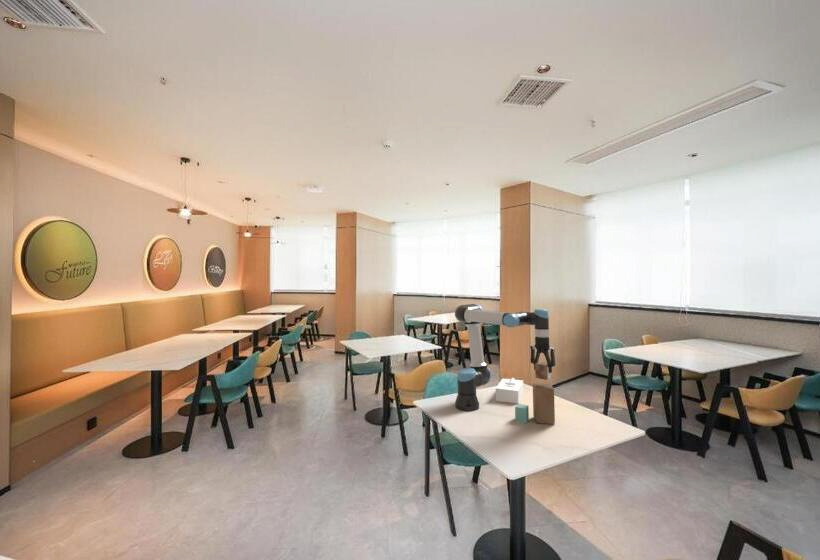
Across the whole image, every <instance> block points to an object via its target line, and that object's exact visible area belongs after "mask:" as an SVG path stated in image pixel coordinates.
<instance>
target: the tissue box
mask: <svg viewBox="0 0 820 560" xmlns="http://www.w3.org/2000/svg"><path fill="white" fill-rule="evenodd" d="M523 394H524V380H522V379H521V380H520V379H515V377H510V378H502V379H501V380H500V381H499V383H498V385H496V387H495V402H502V403H508V402H509V404H516V403H517V404H520V402H519V401H521V399H522V396H523ZM517 404H516V405H517Z"/></svg>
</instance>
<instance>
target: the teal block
mask: <svg viewBox="0 0 820 560" xmlns="http://www.w3.org/2000/svg"><path fill="white" fill-rule="evenodd" d="M514 411H515V412H514V413H515V414H514V415H515V416H514V417H515V418H514V419H515V422H517V423H518V422H519V423H523V424H527V423H528V421H529V419H530V415H529V413H530V412H529V411H530V410H529V405H527V404H522V403H519V404H515V406H514Z"/></svg>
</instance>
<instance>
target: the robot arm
mask: <svg viewBox="0 0 820 560" xmlns="http://www.w3.org/2000/svg"><path fill="white" fill-rule="evenodd" d="M533 311H534V312H531V311H516V312H515V313H513V312H504V311H503V312H500V311H494V310H492V311H490V310H484V309H483V307H482V306H481V305H480V304H477V303H469V304H461V305H458V306H457V307H456V309H455V310H454V317H455V318H456V320H457V321H458V322H460V323H464V326H465V327H466V329H467V337H468V338H467V339H468V346H469V354H470V355H469V356H470V364H469V367H463V368H460V369H459V370H458V371H457V376H456V379H457V395H456V399H455V401H454V402H455V403H454V404H455V406H454V407H455V408H456V409H457V410H459V411H460V410H461V411H464V412H465V411H466V412H467V411H468V412H471V411H477V410H478V409H479V408H480V402H479V399H478V396H477V388H479V387H482V386H485V385H487V384H489V382H491V380H492V378H493V377H492V375H493V374H492V371H491V369H490V368H489V367H488V364H487V363H486V362H485V357H484V356H485V355H484V349H483V341H482V333H481V325H482V324H483V323H484V324H488V325H489V324H491V325H496V326H497V325H499V326H506V328H516V327H520V326H522V327H523V326H534V343H535V344H534V345H530V346H529V349H530V364H533V369H534V371H535V364H536V363H538V362H539V361H540V360H539V359H540V356H541V354H543V355H544V358H545V360H546V363H547V364H548V367H547V380H549V379H551V377H552V375H551V374H553V373H552V372H553V367H555V366H556V357H555V356H556V355H555V353H556V349H555V347H551V346H550V337H549V336H550V325H549V323H550V317H549V310H548V309H546V308H535V309H534V310H533ZM549 352H550V353H549Z"/></svg>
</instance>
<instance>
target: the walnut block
mask: <svg viewBox="0 0 820 560" xmlns="http://www.w3.org/2000/svg"><path fill="white" fill-rule="evenodd" d="M547 367H548V364H547V362H543V361H538V363H536V364H535V370H534V371H535V375H534V376H535V378H536V379H540V380H545V381H547V380H548V379H547Z"/></svg>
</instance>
